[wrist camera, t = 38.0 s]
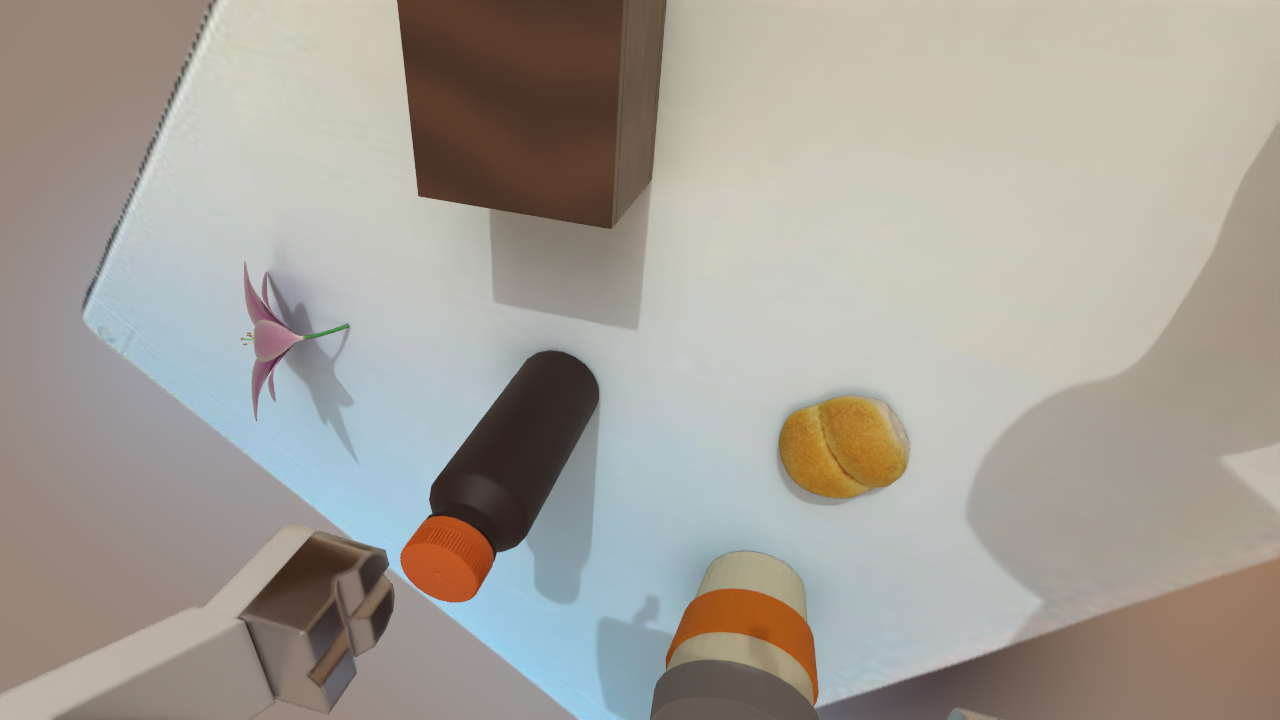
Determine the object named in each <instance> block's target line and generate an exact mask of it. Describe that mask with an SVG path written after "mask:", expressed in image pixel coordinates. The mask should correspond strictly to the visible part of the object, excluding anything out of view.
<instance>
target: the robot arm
mask: <svg viewBox="0 0 1280 720" xmlns="http://www.w3.org/2000/svg"><path fill="white" fill-rule="evenodd" d="M388 566H389V562H388V558H387V554H386V550H384V549H380V548H377V547H373V546H370V545H367V544H363V543H360V542H356V541H353V540H349V539H346V538H343V537H339V536H336V535H332V534H329V533H326V532H323V531H320V530H316V529H313V528H309V527H305V526H302V525H298V524H294V523H291V524H289V525H287V526H285V527H283V528H281V529H279V530H278V531H277V532H276V533H275V534H274V535H273V536H272V537H271V538H270V539H269V540H268V542H267V543H266V544H265V545H264V546H263V547H262V548H261V549H260V550H259V551H258V552H257V553H256V554H255V555H254V556H253V557H252V558H251V559H250V560H249V561H248V562H247V563H246V564H245V565H244V566H243V567H242V568H241V569H240V570H239V571H238V572H237V573H236V574H235V575H234V577H232V578H231V580H230V581H229V582H228V583H227V584H226V585H225V586H224V587H223V588H222V589H221V590H220V591H219V592H218V593H217V594H216V595H215V596H214V597H213V598H212V599H211V600H210V601H209V602H208V603H207V604H206V605H205V606H204V607H200V606H196V605H194V606H192V607H189V608H187V609H185V610H183V611H181V612H178V613H176V614H174V615H172V616H170V617H168V618H165V619H163V620H161V621H159V622H157V623H154V624H152V625H150V626H148V627H146V628H143V629H141V630H139V631H137V632H135V633H133V634H130V635H128V636H126V637H124V638H121V639H119V640H117V641H115V642H113V643H110V644H108V645H106V646H104V647H102V648H99V649H97V650H95V651H93V652H91V653H89V654H86V655H84V656H82V657H80V658H78V659H75V660H73V661H71V662H69V663H67V664H64V665H62V666H60V667H58V668H56V669H53V670H51V671H49V672H47V673H45V674H43V675H40V676H38V677H36V678H34V679H32V680H29V681H27V682H25V683H23V684H21V685H18V686H16V687H14V688H12V689H10V690H7V691H5V692H3V693H1V694H0V720H251V719H253V718H254V717H256V716H257V715H258V714H260V713H262V712H263V711H264V710H266V709H267V708H269V707H270V706H272V705H273V704H275V699H277V700H280V701H283V702H287V703H290V704H294V705H297V706H300V707H304V708H307V709H310V710H314V711H317V712H321V713H324V714H329V713H330V712H331V710H332V709H333V707H334V706H335V704H336V703H337V702H338V700H339V698H340V697H341V696H342V694H343V693H344V691H345V690H346V688H347V687H348V685H349V683H350V682H351V681H352V679H353V678H354V677H355V675H356V673H357V672H356V671H357V668H356V657H357V656H359V655H360V654H362V653H364V652H366V651H368V650H370V649H371V648H373V647H375V645H376V644H377V642H378V641H379V639H380V637H381V636H382V634H383V633H384V631H385V630H386V627H387V625H388V622H389V620H390V617H391V614H392V612H393V607H394V598H395V595H394V589H393V584H392V583H391V582H390V581H389V580H388V579H387V578H386V577H385V575H384V574H383V573H384V572H385V570H386V569H387V567H388ZM946 720H1006V719H1001V718H997V717H994V716H990V715H986V714H982V713H978V712H975V711H971V710H967V709H963V708H959V707H958V708H956V709H954V710H952V711H951V713H950V714H949V716H948V718H947V719H946Z"/></svg>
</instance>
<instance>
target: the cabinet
mask: <svg viewBox="0 0 1280 720" xmlns="http://www.w3.org/2000/svg"><path fill="white" fill-rule="evenodd" d="M397 2H398V12H399V21H400V30H401V39H402V49H403V58H404V67H405V76H406V85H407V95H408V104H409V113H410V122H411V132H412V141H413V150H414V159H415V168H416V178H417V187H418V196H420V197H426V198H432V199H438V200H444V201H450V202H456V203H461V204H467V205H473V206H479V207H485V208H491V209H497V210H503V211H508V212H514V213H520V214H526V215H532V216H538V217H544V218H550V219H556V220H561V221H567V222H573V223H579V224H585V225H591V226H597V227H603V228H608V229H612V228H613V226H614V225H615V224H616V223H617V221H618V220H619V219H620V218H621V216H622V215H623V214H624V213H625V211H626V210H627V209H628V208H629V207H630V205H631V204H632V203H633V202H634V200H635V199H636V198H637V197H638V196H639V194H640V193H641V192H642V191H643V189H644V188H645V187H646V186H647V184H648V183H649V182H650V181H651V179H652V169H653V157H654V145H655V132H656V120H657V108H658V95H659V83H660V71H661V58H662V46H663V34H664V21H665V9H666V0H397Z"/></svg>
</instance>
